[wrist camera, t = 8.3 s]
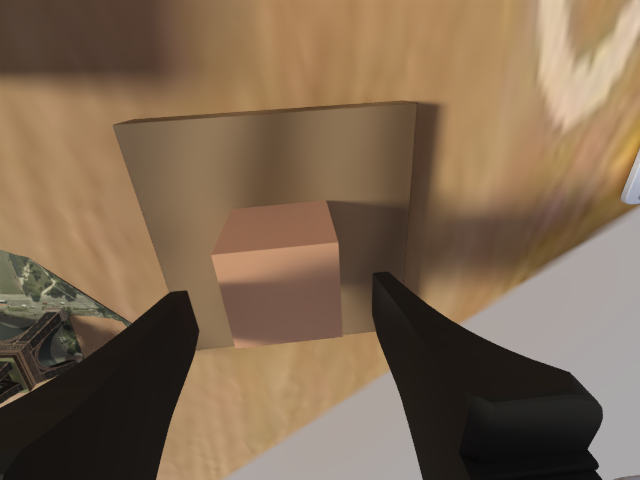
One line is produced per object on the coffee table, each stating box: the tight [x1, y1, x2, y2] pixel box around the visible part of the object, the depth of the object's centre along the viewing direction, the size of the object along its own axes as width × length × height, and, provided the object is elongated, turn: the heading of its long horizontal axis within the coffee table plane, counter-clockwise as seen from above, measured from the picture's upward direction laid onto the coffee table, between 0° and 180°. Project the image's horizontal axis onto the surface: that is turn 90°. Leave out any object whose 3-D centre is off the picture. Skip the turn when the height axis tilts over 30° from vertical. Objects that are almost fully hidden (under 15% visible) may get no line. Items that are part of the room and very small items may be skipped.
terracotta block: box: [211, 200, 343, 349], centre depth 14 cm, size 5×5×4 cm
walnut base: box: [113, 101, 417, 350], centre depth 17 cm, size 13×13×2 cm
